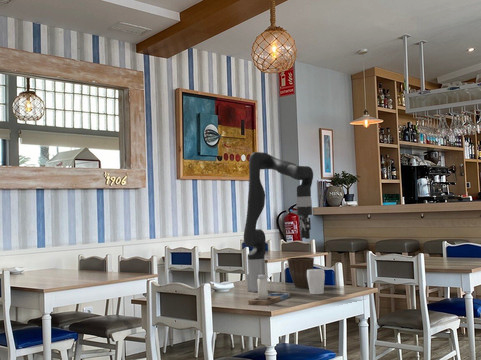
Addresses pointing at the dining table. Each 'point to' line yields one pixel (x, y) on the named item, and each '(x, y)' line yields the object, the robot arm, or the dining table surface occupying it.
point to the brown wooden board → (269, 299)
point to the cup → (316, 280)
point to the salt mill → (262, 287)
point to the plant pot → (300, 270)
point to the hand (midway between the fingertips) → (305, 238)
